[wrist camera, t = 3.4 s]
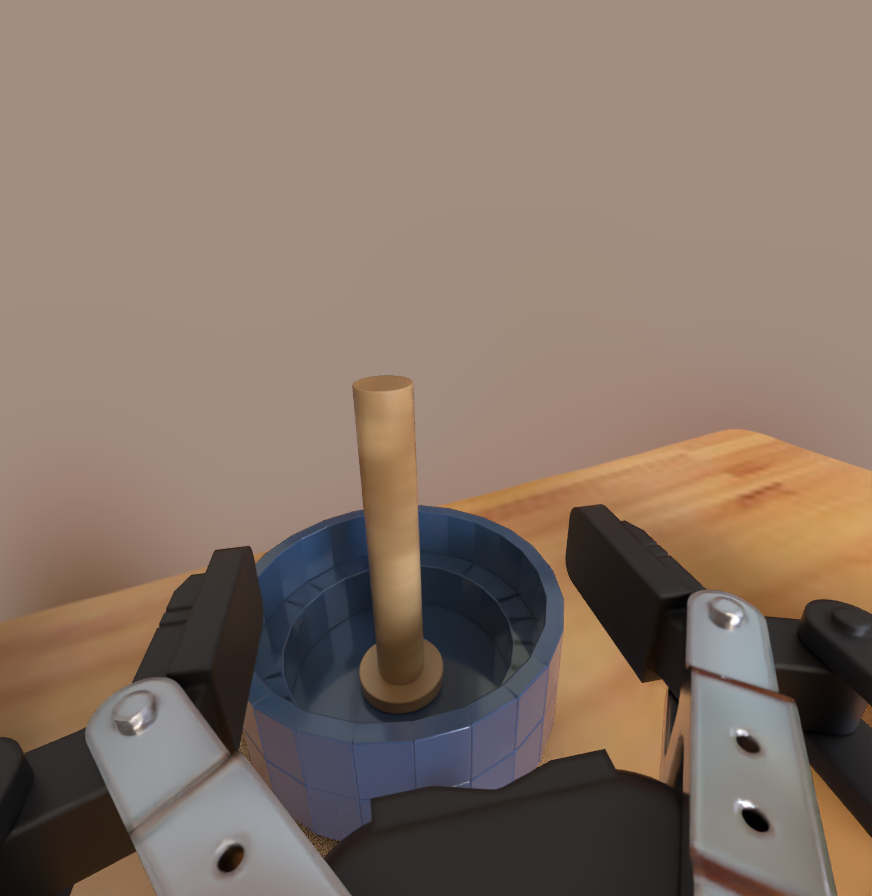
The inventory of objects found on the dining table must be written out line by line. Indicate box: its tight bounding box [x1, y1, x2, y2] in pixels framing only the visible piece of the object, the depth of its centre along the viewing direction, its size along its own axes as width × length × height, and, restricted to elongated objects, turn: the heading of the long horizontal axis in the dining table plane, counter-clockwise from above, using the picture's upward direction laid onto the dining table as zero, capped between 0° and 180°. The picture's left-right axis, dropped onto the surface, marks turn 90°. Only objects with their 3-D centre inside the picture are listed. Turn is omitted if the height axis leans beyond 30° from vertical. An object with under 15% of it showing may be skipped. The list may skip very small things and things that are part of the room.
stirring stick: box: [353, 375, 444, 714], centre depth 22 cm, size 4×4×16 cm
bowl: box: [243, 505, 564, 841], centre depth 24 cm, size 16×16×6 cm
